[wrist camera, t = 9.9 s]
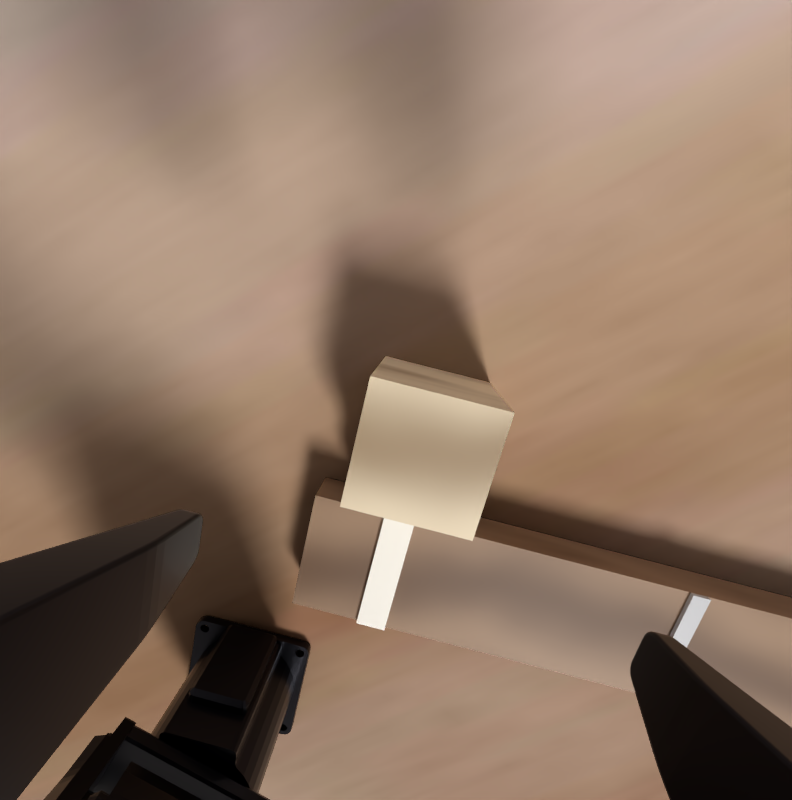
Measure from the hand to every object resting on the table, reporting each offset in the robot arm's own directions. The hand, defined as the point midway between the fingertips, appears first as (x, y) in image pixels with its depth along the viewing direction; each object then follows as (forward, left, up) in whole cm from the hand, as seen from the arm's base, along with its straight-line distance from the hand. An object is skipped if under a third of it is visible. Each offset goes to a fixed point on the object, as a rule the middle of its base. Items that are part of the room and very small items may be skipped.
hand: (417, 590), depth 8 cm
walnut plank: (-7, -10, -12) cm, 17 cm away
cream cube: (0, 0, -12) cm, 12 cm away
